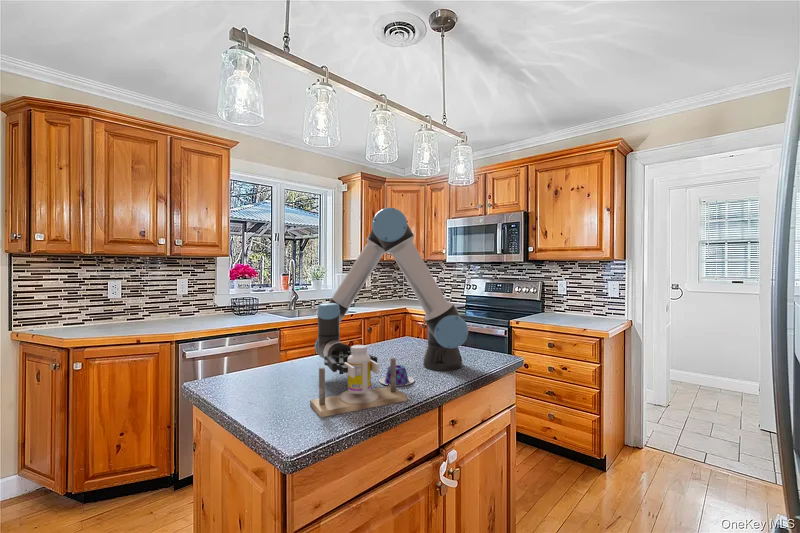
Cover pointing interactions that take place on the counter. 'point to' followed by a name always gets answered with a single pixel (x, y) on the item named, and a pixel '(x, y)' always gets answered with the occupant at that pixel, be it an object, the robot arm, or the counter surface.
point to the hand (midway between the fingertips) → (366, 370)
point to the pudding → (397, 376)
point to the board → (356, 397)
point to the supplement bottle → (359, 370)
